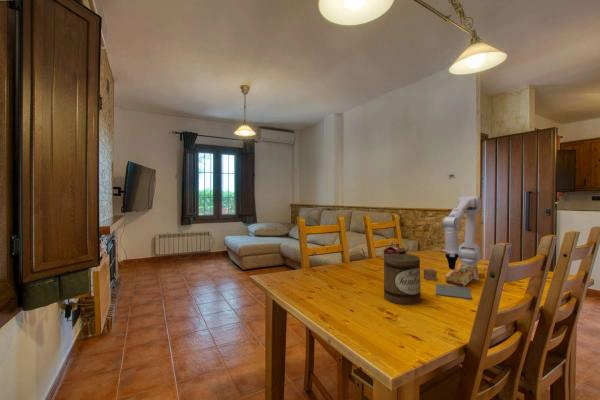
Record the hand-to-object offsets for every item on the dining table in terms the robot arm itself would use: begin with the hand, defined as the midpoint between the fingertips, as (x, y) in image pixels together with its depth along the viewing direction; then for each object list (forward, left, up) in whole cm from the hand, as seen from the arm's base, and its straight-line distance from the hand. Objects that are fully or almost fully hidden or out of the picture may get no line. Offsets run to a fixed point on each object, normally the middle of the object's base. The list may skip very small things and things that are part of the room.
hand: (451, 269), depth 137 cm
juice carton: (+14, -26, -9) cm, 31 cm away
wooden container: (+27, -20, -9) cm, 35 cm away
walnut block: (-9, -10, -8) cm, 16 cm away
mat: (+9, 0, -8) cm, 12 cm away
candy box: (-2, +1, -6) cm, 7 cm away
